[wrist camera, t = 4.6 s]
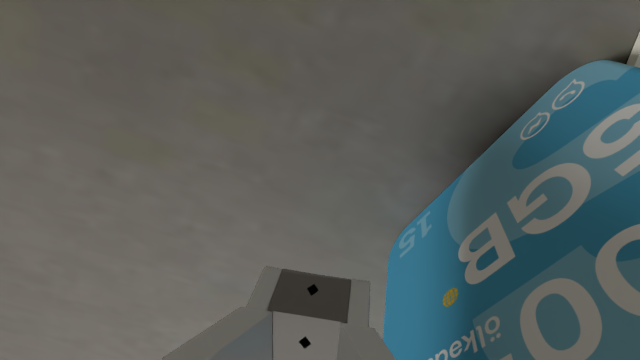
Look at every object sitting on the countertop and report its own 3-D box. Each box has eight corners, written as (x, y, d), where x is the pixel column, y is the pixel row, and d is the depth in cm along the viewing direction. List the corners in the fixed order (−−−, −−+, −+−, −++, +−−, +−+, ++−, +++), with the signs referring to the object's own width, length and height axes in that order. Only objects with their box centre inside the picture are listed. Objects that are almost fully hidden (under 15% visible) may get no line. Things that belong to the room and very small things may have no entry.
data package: (585, 51, 14) (1186, 193, 3) (670, 121, 14) (1461, 455, 4) (387, 242, 19) (365, 525, 9) (452, 288, 20) (506, 613, 9)
